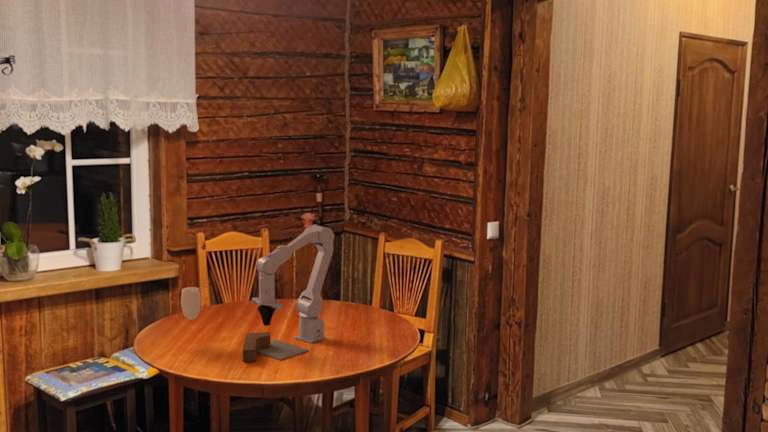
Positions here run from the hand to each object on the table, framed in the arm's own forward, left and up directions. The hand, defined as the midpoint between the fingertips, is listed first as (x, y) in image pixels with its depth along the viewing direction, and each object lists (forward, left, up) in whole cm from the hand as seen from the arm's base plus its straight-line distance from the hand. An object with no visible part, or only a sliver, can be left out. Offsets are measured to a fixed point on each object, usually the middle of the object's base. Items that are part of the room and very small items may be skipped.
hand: (266, 324), depth 283 cm
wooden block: (+3, +1, -5) cm, 6 cm away
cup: (+24, +16, -9) cm, 30 cm away
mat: (-6, 0, -8) cm, 10 cm away
